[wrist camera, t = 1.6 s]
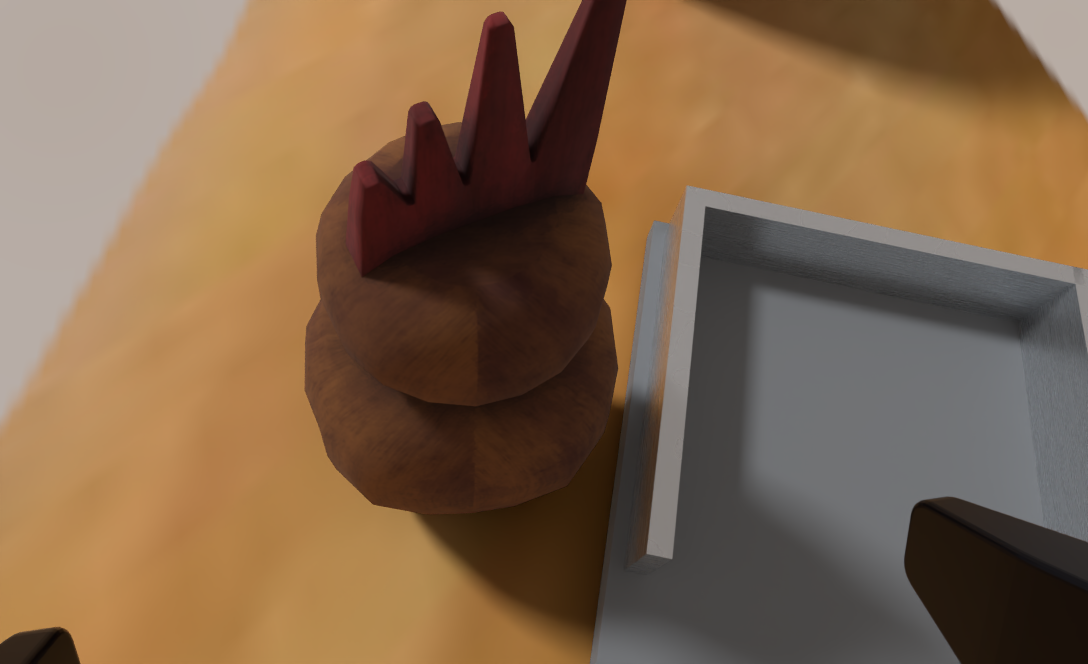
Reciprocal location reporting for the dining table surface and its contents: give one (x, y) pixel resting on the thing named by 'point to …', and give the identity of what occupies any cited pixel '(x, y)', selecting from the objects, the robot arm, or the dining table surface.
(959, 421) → the grey shallow rectangular tray
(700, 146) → the dining table surface
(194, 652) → the dining table surface
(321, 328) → the wooden figurine
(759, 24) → the dining table surface
